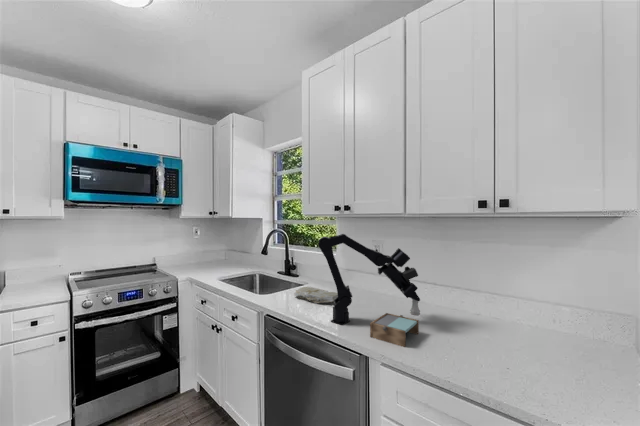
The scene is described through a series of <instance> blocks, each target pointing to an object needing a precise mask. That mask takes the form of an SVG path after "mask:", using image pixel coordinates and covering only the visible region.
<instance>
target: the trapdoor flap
mask: <svg viewBox="0 0 640 426" xmlns="http://www.w3.org/2000/svg"><path fill="white" fill-rule="evenodd" d="M375 323H376V324H380V325H384V326H388V327H391V328H395V329H399V330H403V331H406V333H408V332H407V331H409V330H410V329H411V328H412V327H413V326H415V325H416V324H417V321H414V320H410V319H405V318H401V317H397V316H392V315H386V316H385V317H383V318H382V319H380V320H378V321H377V322H375Z"/></svg>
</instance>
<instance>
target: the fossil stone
mask: <svg viewBox="0 0 640 426" xmlns="http://www.w3.org/2000/svg"><path fill="white" fill-rule="evenodd" d="M293 294H294V296H295V297H296V298H298V299H301V300H304V301H309V302H311V303H315V304H316V303H317V304H323V303H334V300H335V299H336V298H337V297H338V293H337V291H329V290H325V289H322V288H319V287H318V288H317V287H314V286H303V287H300V288H298V289H296V290H295V292H294V293H293Z"/></svg>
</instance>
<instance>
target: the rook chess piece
mask: <svg viewBox="0 0 640 426" xmlns="http://www.w3.org/2000/svg"><path fill="white" fill-rule="evenodd" d="M411 300H412V301H411V302H412V305H411V308H410V310H409V311H410V312H409V313H410V315H412V316H420V315H421V310H420V308H419V301H416V300H414V299H412V298H411Z"/></svg>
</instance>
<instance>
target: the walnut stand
mask: <svg viewBox="0 0 640 426" xmlns="http://www.w3.org/2000/svg"><path fill="white" fill-rule="evenodd" d="M386 315H392V316H397V317H401V318H405V319H410V320H414V321H417V324H416V325H415V326H413V327H412V328H411V329H410V330H409V331H407V332H406V331H403V330H399V329H395V328H391V327H388V326H384V325H380V324H376V323H375V322H377V321H378V320H380V319H382V318H383V317H385V316H386ZM419 323H420V322H419V319H414V318H412V317H411V318H410V317H405V316H404V315H401V314H400V315H397V314H393V313H389V312H385V313H384V314H383V315H381V316H380V317H377V318H376V319H375V320H373V321H371V322H370V323H369V324H370V325H369V327H370V329H369V333H370V334H369V337H370V338H372V337H373V339H375V338H376V340H380V341H382V342H386V343H389V344H392V345H397V346H398V347H399V346H400V347H403V348H405V347H406V346H407V345H406V342H407V341H406V339H407V337H406V335H407V334H406V333H411V334H413V335H417V336H418V335H419V333H420V332H419V327H420V325H419Z"/></svg>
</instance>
